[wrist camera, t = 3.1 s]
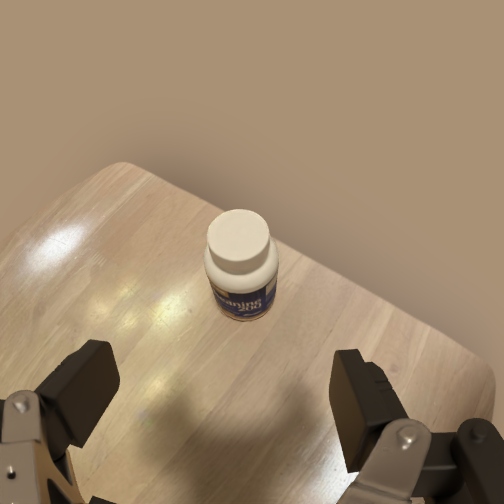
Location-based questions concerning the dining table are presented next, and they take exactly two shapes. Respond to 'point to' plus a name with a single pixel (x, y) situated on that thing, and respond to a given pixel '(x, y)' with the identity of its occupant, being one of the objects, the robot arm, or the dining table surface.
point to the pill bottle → (241, 264)
